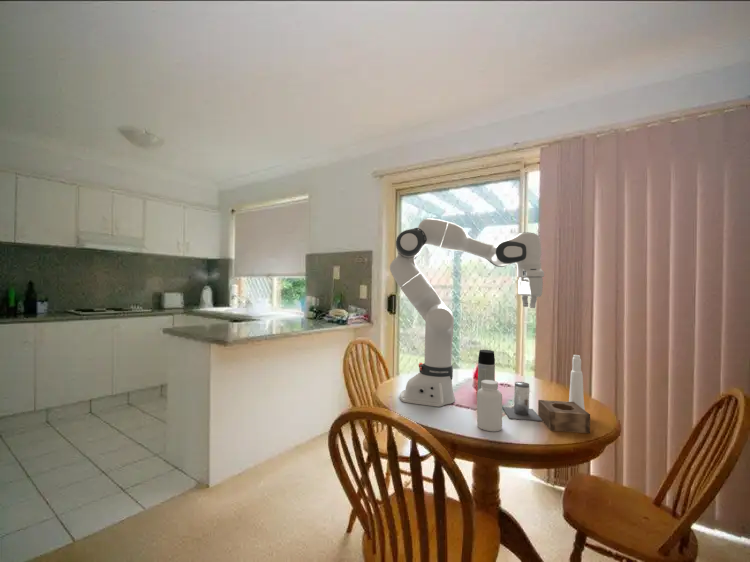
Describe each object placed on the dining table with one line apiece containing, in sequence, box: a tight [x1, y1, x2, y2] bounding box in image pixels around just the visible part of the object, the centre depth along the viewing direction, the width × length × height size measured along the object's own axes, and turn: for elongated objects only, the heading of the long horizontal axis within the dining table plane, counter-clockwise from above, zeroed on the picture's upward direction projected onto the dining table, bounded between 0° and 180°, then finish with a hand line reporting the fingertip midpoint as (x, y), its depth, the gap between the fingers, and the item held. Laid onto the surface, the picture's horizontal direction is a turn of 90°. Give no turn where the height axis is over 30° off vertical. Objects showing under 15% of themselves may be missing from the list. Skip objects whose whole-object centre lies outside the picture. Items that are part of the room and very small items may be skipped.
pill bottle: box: [476, 380, 503, 432], centre depth 113 cm, size 8×8×15 cm
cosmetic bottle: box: [568, 354, 586, 411], centre depth 125 cm, size 6×6×22 cm
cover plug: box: [513, 381, 530, 416], centre depth 125 cm, size 5×5×11 cm
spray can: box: [477, 349, 496, 391], centre depth 141 cm, size 7×7×20 cm
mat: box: [502, 406, 543, 422], centre depth 124 cm, size 11×11×1 cm
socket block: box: [537, 399, 591, 434], centre depth 116 cm, size 12×12×6 cm
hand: (528, 307), depth 136 cm, fingers open, 8 cm apart
